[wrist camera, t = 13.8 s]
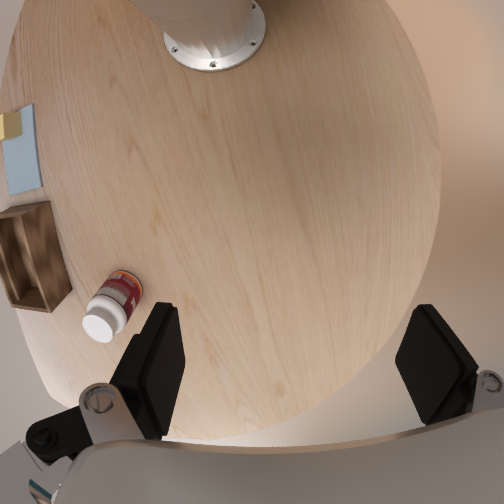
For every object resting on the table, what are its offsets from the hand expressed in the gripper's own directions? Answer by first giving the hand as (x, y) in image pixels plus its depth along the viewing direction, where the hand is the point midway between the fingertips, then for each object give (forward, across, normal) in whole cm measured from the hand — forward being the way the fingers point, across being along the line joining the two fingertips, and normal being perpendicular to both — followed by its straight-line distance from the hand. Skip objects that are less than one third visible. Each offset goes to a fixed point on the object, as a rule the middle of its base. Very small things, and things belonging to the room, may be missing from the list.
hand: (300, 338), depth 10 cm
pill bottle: (+28, +22, +15) cm, 39 cm away
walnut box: (+28, +39, +9) cm, 49 cm away
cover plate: (+28, +40, -8) cm, 50 cm away
